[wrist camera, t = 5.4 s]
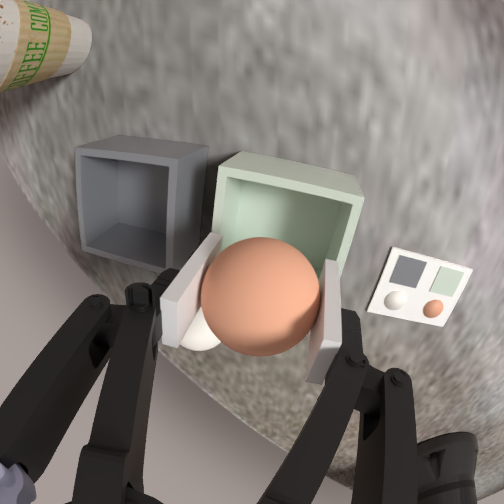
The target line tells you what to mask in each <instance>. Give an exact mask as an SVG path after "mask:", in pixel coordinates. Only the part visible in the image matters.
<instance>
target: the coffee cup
mask: <svg viewBox="0 0 504 504" xmlns="http://www.w3.org/2000/svg"><path fill="white" fill-rule="evenodd" d="M91 43H92V33H91V29H90V26H89V25H88V23H86V22H85V21H84V20H81V19H78V18H75V17H72V16H69V15H66V14H65V13H63V12H61V11H58V10H55V9H52V8H49V7H45V6H42V5H39V4H35V3H31V2H28V1H24V0H0V93H2V92H5V91H8V90H11V89H14V88H18V87H21V86H25V85H29V84H32V83H36V82H40V81H44V80H46V79H48V78H52V77H57V76H62V75H67V74H70V73H73V72H74V71H76V70H77V69H78V68H79V67H80V66H81V65H82V64H83V63H84V61H85V60H86V58H87V56H88V54H89V51H90V48H91Z"/></svg>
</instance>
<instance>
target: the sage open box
mask: <svg viewBox="0 0 504 504" xmlns="http://www.w3.org/2000/svg"><path fill="white" fill-rule="evenodd" d="M364 198H365V197H364V195H363V193H362V190H361V188H360V186H359V184H358V181H357V179H356V177H355V176H354V175H350V174H347V173H343V172H339V171H335V170H330V169H326V168H322V167H318V166H313V165H309V164H305V163H300V162H295V161H291V160H286V159H281V158H276V157H271V156H266V155H260V154H255V153H250V152H244V151H241V152H239V153H238V154H236V155H235V156H233V157H231V158H230V159H228V160H227V161H225V162H224V163H222V164H221V165H219V168H218V176H217V185H216V194H215V203H214V212H213V222H212V232H211V233H215V234H220V235H223V239H222V248H221V251H223V250H224V249H226V248H227V247H228V246H230V245H232V244H234V243H236V242H238V241H241V240H244V239H248V238H253V237H268V238H274V239H277V240H281V241H283V242H285V243H288V244H289V245H291V246H293V247H295V248H296V249H297V250H299V251H300V252H301V253H302V254H303V255H304V256H305V257H306V259H307V260H308V261H309V262H310V264H311V265H312V267H313V269H314V271H315V273H316V276H317V278H318V282H319V279H320V275H321V272H322V269H323V265H324V262H325V259H329V260H333V261H337V262H338V264H339V279H340V276H341V273H342V270H343V267H344V264H345V261H346V258H347V255H348V252H349V248H350V245H351V242H352V239H353V236H354V232H355V229H356V226H357V222H358V219H359V215H360V212H361V209H362V205H363V201H364Z"/></svg>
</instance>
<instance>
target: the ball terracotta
mask: <svg viewBox="0 0 504 504" xmlns="http://www.w3.org/2000/svg"><path fill="white" fill-rule="evenodd" d="M320 298H321V297H320V286H319V282H318V278H317V276H316V273H315V271H314V269H313V267H312V265H311V264H310V262H309V261H308V260H307V259H306V257H305V256H304V255H303V254H302V253H301V252H300V251H299V250H297V249H296V248H295V247H293V246H291V245H289V244H288V243H285V242H283V241H281V240H277V239H274V238H268V237H253V238H248V239H244V240H241V241H238V242H236V243H234V244H232V245H230V246H228V247H227V248H226V249H224V250H223V251H221V252H220V253H219V254H218V255H217V256H216V257H215V259H214V260H213V261H212V263H211V264H210V265H209V267H208V269H207V271H206V273H205V275H204V279H203V282H202V286H201V307H202V312H203V315H204V318H205V320H206V322H207V324H208V326H209V328H210V330H211V331H212V333H213V334H214V335H215V336H216V337H217V338H218V339H219V340H220V341H221V342H222V343H223V344H224V345H226V346H227V347H229V348H231V349H232V350H234V351H237V352H239V353H242V354H245V355H250V356H270V355H275V354H279V353H282V352H284V351H286V350H288V349H290V348H292V347H293V346H295V345H296V344H298V343H299V342H300V341H301V340H302V339H303V338H304V337H305V336H306V335H307V334H308V332H309V331H310V329H311V328H312V326H313V325H314V322H315V320H316V318H317V314H318V311H319V306H320Z"/></svg>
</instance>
